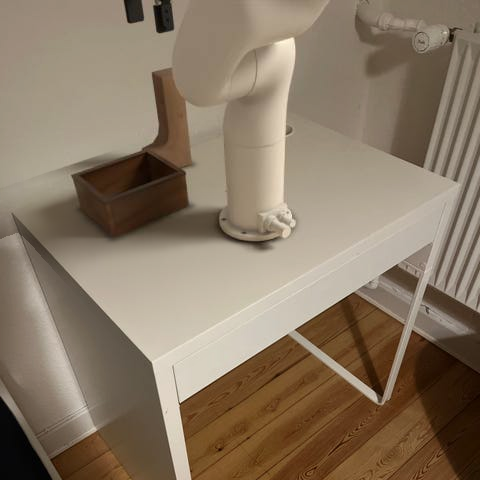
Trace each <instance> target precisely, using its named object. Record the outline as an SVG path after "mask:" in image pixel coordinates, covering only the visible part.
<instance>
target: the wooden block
mask: <svg viewBox="0 0 480 480" xmlns="http://www.w3.org/2000/svg"><path fill="white" fill-rule="evenodd" d="M151 79H152V86H153V92H154V93H153V94H154V100H155V107H156V114H157V121H158V131H157V135H156V136H155V138H154V140H153V142H151V143H149V144H147V145H145V146H143V147H142V148H141V151H142V150H145V149H150V150H152V151H153V152H155V153H156V154H158V155H160V156H161V157H163V158H164V159H166V160H168V161H169V162H171V163H172V164H174V165H176V166H177V167H179V168H180V169H182V168H185V167H187V166H190V165H192V164H193V161H192V151H191V141H190V132H189V131H190V130H189V122H188V113H187V103H186V102H187V101H186V100H185V99H184V98H183V97H182V96H181V95H180V93H179V91H178V89H177V87H176V85H175V82H174V79H173V73H172V67H167V68H162V69H158V70H155V71H152V72H151Z"/></svg>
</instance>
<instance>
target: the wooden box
mask: <svg viewBox="0 0 480 480" xmlns="http://www.w3.org/2000/svg"><path fill="white" fill-rule="evenodd" d="M70 177H71V179H72V181H73V185H74V188H75V191H76V195H77V199H78V202H79V206H80V209H81V210H82V211H83V212H84V213H85V214H86V215H88V216H89V217H90V218H91V219H92V220H93V221H94V222H95V223H96V224H98V225H99V226H100V227H101V228H102V229H103V230H105V231H106V232H107V233H108V234H109V235H110V236H111V237H112V238H116V237H118V236H121V235H123V234H126V233H128V232H131V231H133V230H136V229H137V228H141V227H142V226H144V225H145V226H146V225H147V224H150V223H152V222H154V221H157V220H158V219H162V218H165V217H166V216H169V215H172V214H174V213H176V212H179V211H181V210H183V209H186V208H188V207H190V202H189V192H188V184H187V172H186V171H185V170H183V169H182V168H179V167H177V166H176V165H174V164H172V163H171V162H169V161H168V160H166V159H164V158H163V157H161V156H160V155H158V154H156V153H155V152H153V151H152V150H150V149H145V150H142V149H141V150H139V151H136V152H134V153H133V152H132V153H131V154H128V155H125V156H122V157H119V158H116V159H113V160H110V161H108V162H104V163H101V164H98V165H96V166H93V167H90V168H87V169H84V170H81V171H79V172H75V173H73V174H71V175H70Z"/></svg>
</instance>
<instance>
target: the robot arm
mask: <svg viewBox="0 0 480 480" xmlns="http://www.w3.org/2000/svg"><path fill="white" fill-rule="evenodd" d="M330 1H331V0H189V2H188V5H187V8H186V10H185V13H184V15H183V18H182V20H181V23H180V26H179V28H178V31H177V34H176V38H175V39H174V43H173V48H172V54H171V68H172V73H173V79H174V82H175V85H176V87H177V89H178V91H179V93H180V95H181V96H182V97H183V98H184V99H185V102H187V103H189V104H190V105H192V106H194V107H198V108H210V107H215V106H216V107H217V106H219V105H222V104H225V103H226V106H225V109H224V113H223V120H222V122H223V123H222V132H223V133H222V134H223V152H224V153H223V155H224V167H225V168H224V169H225V170H224V171H225V189H226V206H225V207H223V209H222V210H221V211H220V213H219V216H218V222H219V223H218V224H219V227H220V229H221V230H222V231H223V232H224V233H225V234H226V235H228V236H229V237H232V238H234V239H237V240H241V241H245V242H246V241H247V242H264V241H269V240H273V239H275V238H278V237H281V238H282V239H287V238H288V237H289V236H290V234H291V231H292V229H293V228H294V227H295V226H296V225H297V220H295V219H294V218H293V215H292V212H291V210H290V209H289V207H288V203H286V202H284V193H285V191H284V190H285V162H286V161H285V159H286V157H285V156H286V155H285V154H286V134H287V110H288V101H289V93H290V87H291V83H292V78H293V75H294V70H295V63H296V42H295V37H297V36H300V35H302V34H304V33H305V32H306V31H308V30H309V29H310V28H311V27H312V26H313V25H314V24H315V22H316V21H317V20H318V18H319V17H320V16H321V14H322V12H323V11H324V9H326V7H327V5H328V4H329V2H330ZM153 2H154V4H153V5H152V9H153V16H154V17H153V18H154V25H155V31H156V33H157V34H164V33H168V32H173V31H174V30H175V23H174V14H173V5H172V4H173V2H174V0H153ZM123 6H124V11H125V16H126V17H125V18H126V22H127V23H128V24H130V25H132V24H135V23H136V24H137V23H140V22H144V20H145V13H144V7H143V0H123Z"/></svg>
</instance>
